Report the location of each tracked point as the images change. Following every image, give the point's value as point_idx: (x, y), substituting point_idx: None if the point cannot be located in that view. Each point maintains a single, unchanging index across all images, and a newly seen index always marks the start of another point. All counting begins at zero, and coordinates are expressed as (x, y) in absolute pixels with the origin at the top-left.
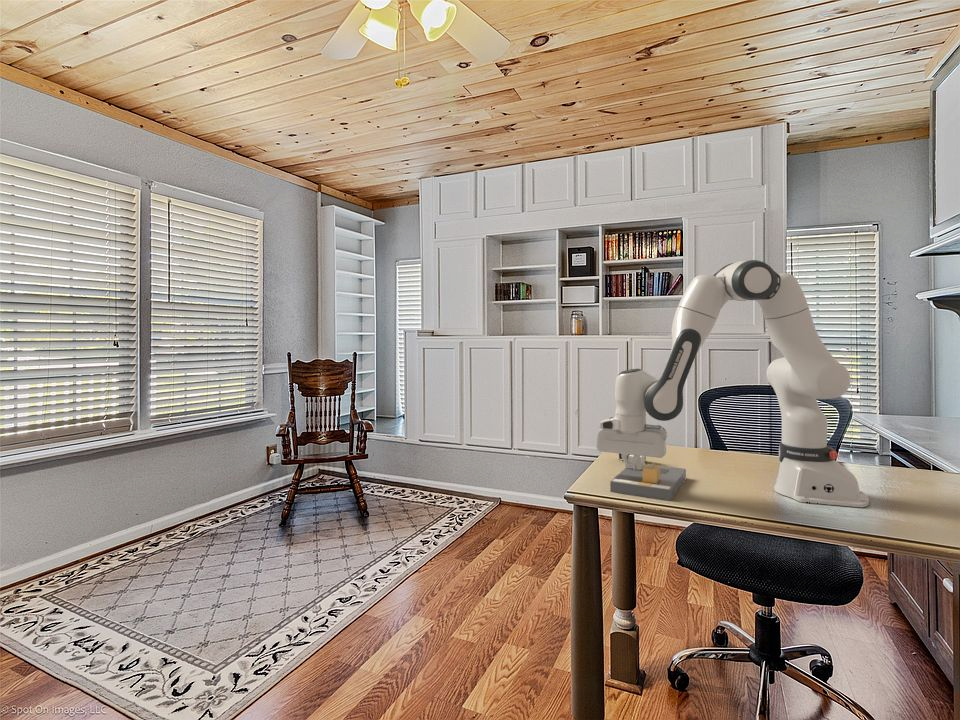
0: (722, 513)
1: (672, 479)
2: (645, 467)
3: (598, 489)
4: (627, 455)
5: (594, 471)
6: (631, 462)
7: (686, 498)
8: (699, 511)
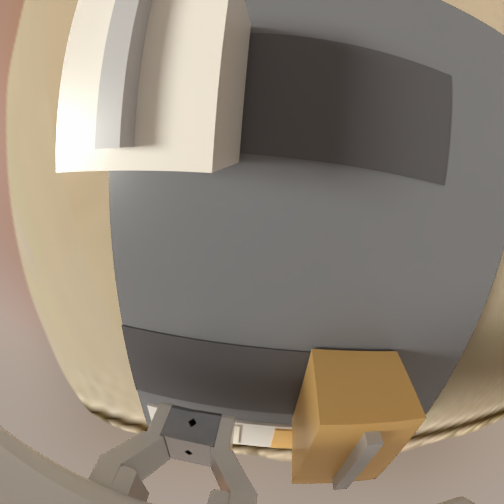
0: (489, 415)
1: (460, 313)
2: (309, 472)
3: (115, 379)
4: (137, 478)
5: (8, 129)
6: (188, 444)
7: (456, 367)
8: (447, 432)
